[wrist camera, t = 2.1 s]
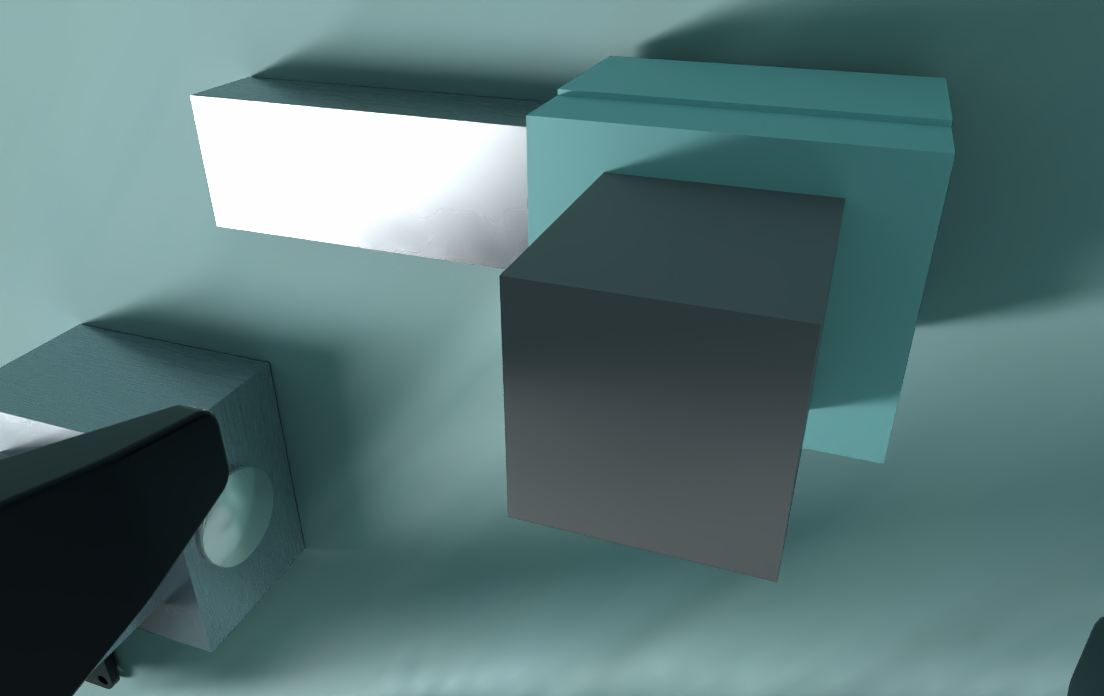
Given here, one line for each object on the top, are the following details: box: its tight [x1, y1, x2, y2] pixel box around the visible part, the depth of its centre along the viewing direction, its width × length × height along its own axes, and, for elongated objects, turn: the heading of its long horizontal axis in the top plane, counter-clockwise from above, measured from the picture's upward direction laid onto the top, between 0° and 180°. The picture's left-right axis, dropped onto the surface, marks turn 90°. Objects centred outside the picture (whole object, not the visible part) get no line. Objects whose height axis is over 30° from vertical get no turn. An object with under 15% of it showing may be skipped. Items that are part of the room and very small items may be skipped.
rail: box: [190, 77, 546, 269], centre depth 18 cm, size 15×3×2 cm, turn 90°
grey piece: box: [0, 324, 305, 667], centre depth 24 cm, size 7×7×7 cm
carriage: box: [500, 56, 956, 582], centre depth 13 cm, size 6×5×8 cm
